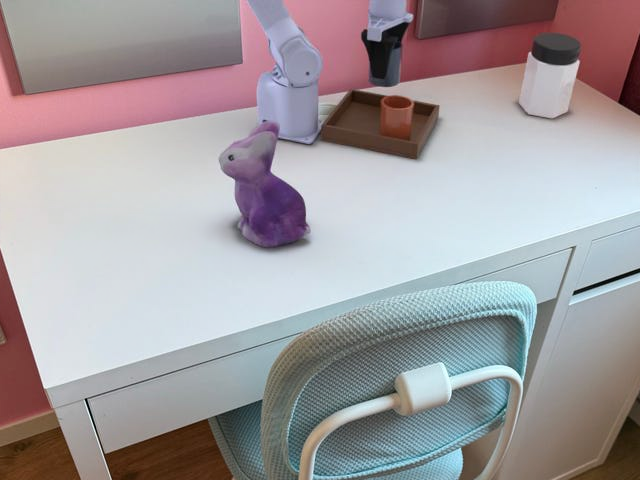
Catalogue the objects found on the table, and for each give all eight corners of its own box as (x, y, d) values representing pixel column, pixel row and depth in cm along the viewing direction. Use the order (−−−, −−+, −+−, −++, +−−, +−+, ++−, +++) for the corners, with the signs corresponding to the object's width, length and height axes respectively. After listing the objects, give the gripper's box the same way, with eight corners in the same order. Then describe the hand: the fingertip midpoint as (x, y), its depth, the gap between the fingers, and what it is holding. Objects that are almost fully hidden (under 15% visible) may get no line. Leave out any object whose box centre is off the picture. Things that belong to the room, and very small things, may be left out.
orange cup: (375, 141, 118) (377, 106, 114) (384, 127, 122) (386, 92, 118) (405, 147, 118) (409, 112, 113) (413, 133, 121) (417, 98, 117)
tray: (321, 140, 119) (321, 125, 117) (349, 102, 129) (350, 88, 128) (416, 159, 116) (418, 144, 114) (438, 119, 127) (439, 105, 125)
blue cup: (364, 84, 119) (365, 46, 115) (373, 71, 122) (375, 35, 118) (394, 89, 118) (397, 52, 114) (403, 77, 122) (406, 40, 117)
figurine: (222, 218, 101) (211, 115, 90) (293, 207, 104) (291, 106, 93) (239, 257, 94) (229, 151, 84) (314, 244, 98) (313, 140, 87)
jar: (546, 123, 129) (561, 54, 120) (510, 106, 132) (523, 39, 124) (575, 109, 133) (592, 42, 125) (539, 94, 137) (553, 28, 129)
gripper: (402, 0, 104) (395, 92, 113) (426, -28, 114) (418, 59, 123) (355, -8, 105) (352, 84, 114) (383, -35, 115) (378, 52, 125)
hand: (383, 71), depth 119 cm, fingers closed on blue cup, 5 cm apart
